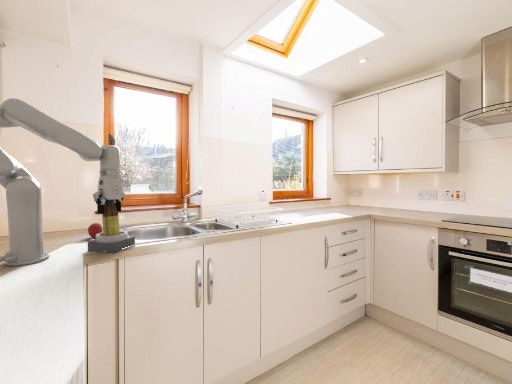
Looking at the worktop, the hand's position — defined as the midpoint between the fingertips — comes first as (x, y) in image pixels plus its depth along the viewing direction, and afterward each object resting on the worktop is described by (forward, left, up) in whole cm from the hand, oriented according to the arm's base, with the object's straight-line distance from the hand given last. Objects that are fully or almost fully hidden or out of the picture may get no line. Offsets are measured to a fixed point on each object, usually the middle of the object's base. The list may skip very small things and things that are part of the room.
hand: (109, 212), depth 114 cm
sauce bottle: (0, 0, -12) cm, 12 cm away
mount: (+1, 0, -16) cm, 16 cm away
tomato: (+17, +23, -16) cm, 32 cm away
